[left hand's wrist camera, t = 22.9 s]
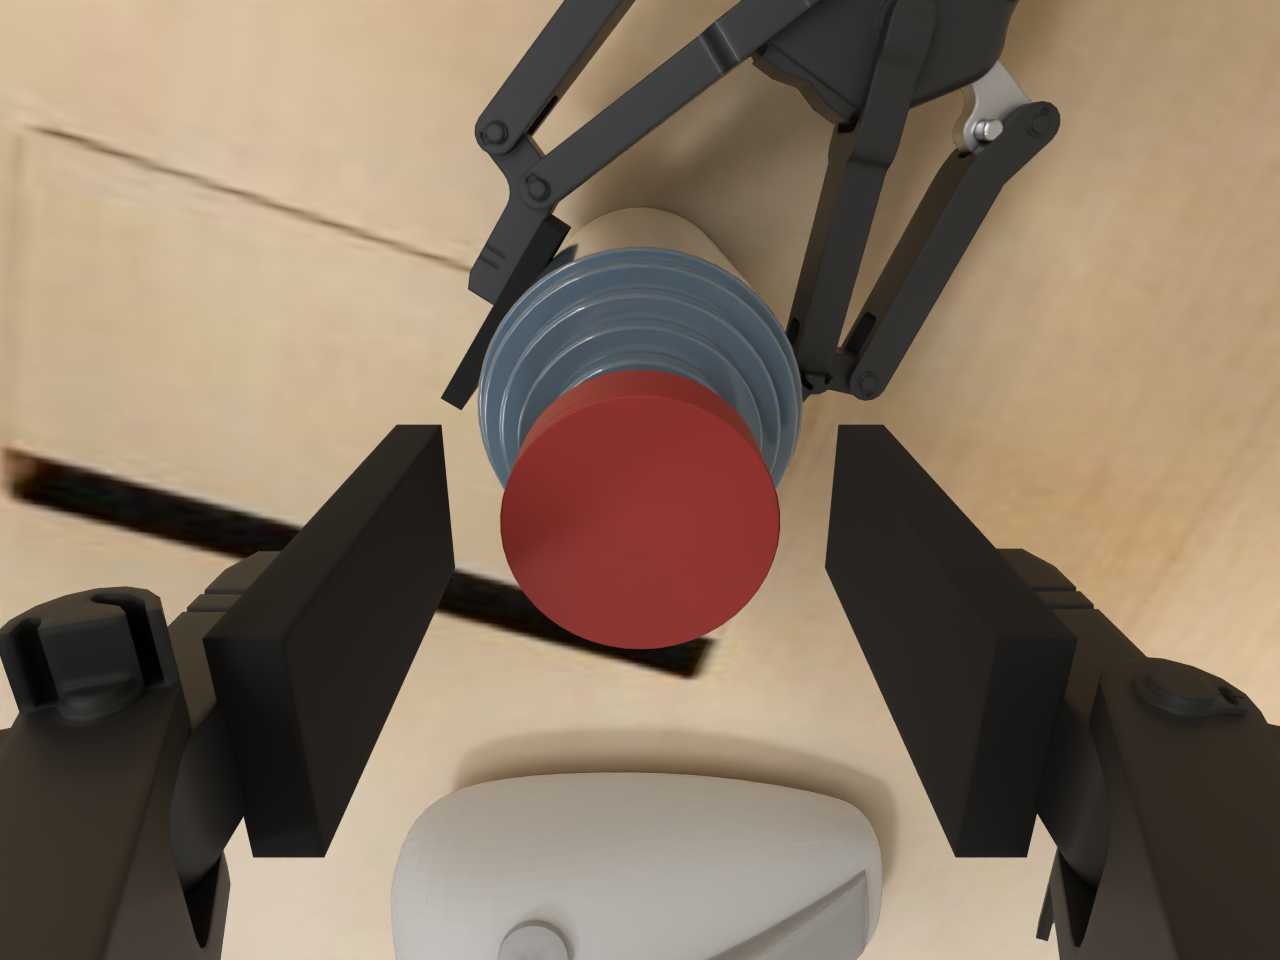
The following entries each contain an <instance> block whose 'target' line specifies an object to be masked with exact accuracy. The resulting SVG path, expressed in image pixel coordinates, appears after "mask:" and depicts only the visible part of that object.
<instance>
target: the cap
mask: <svg viewBox="0 0 1280 960" xmlns="http://www.w3.org/2000/svg"><path fill="white" fill-rule="evenodd" d="M500 523H501V537H502V543H503V549H504V552H505V555H506V559H507V562H508V564H509V567H510V569H511V571H512V573H513V575H514V577H515V579H516V581H517V582H518V584H519V585H520V587H521V589H522V590H523V592H524V593H525V594H526V596H527V597H528V598H529V599H530V600H531V601H532V603H533V604H534V605H535V606H536V607H537V608H538V609H539V610H540V611H541V612H543V613H544V614H545V615H546V616H547V617H548V618H550V619H551V620H552V621H554V622H555V623H557V624H558V625H559V626H561V627H563V628H564V629H566V630H568V631H570V632H572V633H574V634H575V635H578V636H580V637H583V638H585V639H588V640H590V641H593V642H597V643H600V644H604V645H608V646H614V647H620V648H631V649H650V648H661V647H667V646H672V645H677V644H680V643H684V642H687V641H690V640H693V639H695V638H698V637H700V636H702V635H705V634H707V633H709V632H711V631H712V630H714V629H716V628H718V627H719V626H721V625H723V624H724V623H725V622H727V621H728V620H729V619H731V618H732V617H733V616H735V615H736V614H737V613H738V612H739V611H740V610H741V609H742V608H743V607H744V606H745V605H746V604H747V603H748V602H749V601H750V600H751V598H752V597H753V596H754V595H755V593H756V592H757V591H758V590H759V588H760V586H761V585H762V583H763V581H764V580H765V578H766V576H767V574H768V572H769V570H770V567H771V565H772V563H773V561H774V557H775V553H776V550H777V546H778V540H779V533H780V509H779V503H778V497H777V493H776V490H775V486H774V483H773V480H772V477H771V475H770V473H769V470H768V468H767V465H766V463H765V460H764V458H763V455H762V453H761V451H760V448H759V446H758V444H757V442H756V440H755V437H754V435H753V433H752V432H751V430H750V429H749V427H748V425H747V424H746V422H745V421H744V419H743V418H742V417H741V416H740V415H739V414H738V413H737V411H736V410H735V409H734V408H733V407H732V406H731V405H730V404H729V403H727V402H726V401H725V400H724V399H723V398H722V397H720V396H719V395H718V394H716V393H714V392H713V391H711V390H710V389H708V388H707V387H705V386H703V385H701V384H699V383H697V382H695V381H692V380H690V379H687V378H684V377H681V376H678V375H675V374H671V373H665V372H660V371H650V370H631V371H620V372H615V373H610V374H605V375H602V376H599V377H596V378H593V379H590V380H588V381H586V382H584V383H582V384H580V385H578V386H576V387H574V388H572V389H570V390H569V391H568V392H566V393H565V394H563V395H562V396H560V397H559V398H558V399H556V400H555V401H554V402H553V403H552V404H551V405H550V406H549V407H547V408H546V410H545V411H544V412H543V413H542V414H541V415H540V417H539V418H538V419H537V420H536V421H535V423H534V425H533V426H532V428H531V429H530V431H529V432H528V434H527V436H526V438H525V440H524V443H523V445H522V447H521V449H520V452H519V454H518V457H517V459H516V462H515V464H514V466H513V469H512V471H511V474H510V476H509V479H508V481H507V484H506V488H505V491H504V495H503V499H502V506H501V514H500Z"/></svg>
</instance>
